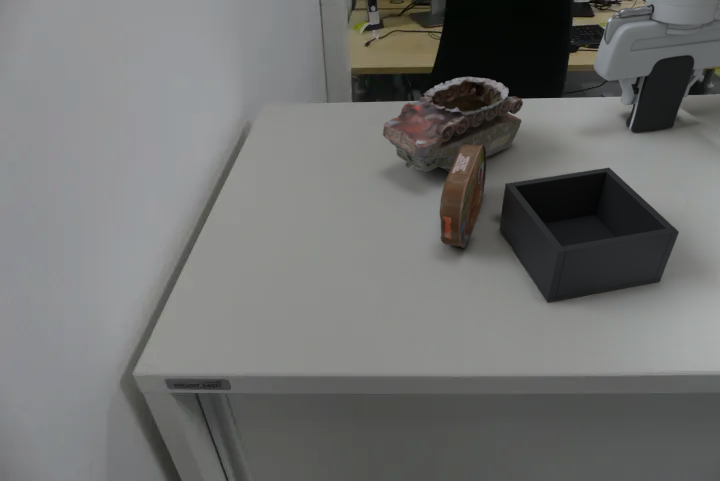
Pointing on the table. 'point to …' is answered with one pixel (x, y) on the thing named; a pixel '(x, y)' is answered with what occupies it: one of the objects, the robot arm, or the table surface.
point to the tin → (463, 195)
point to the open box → (585, 233)
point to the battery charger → (660, 94)
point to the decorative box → (454, 122)
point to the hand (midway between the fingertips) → (653, 99)
